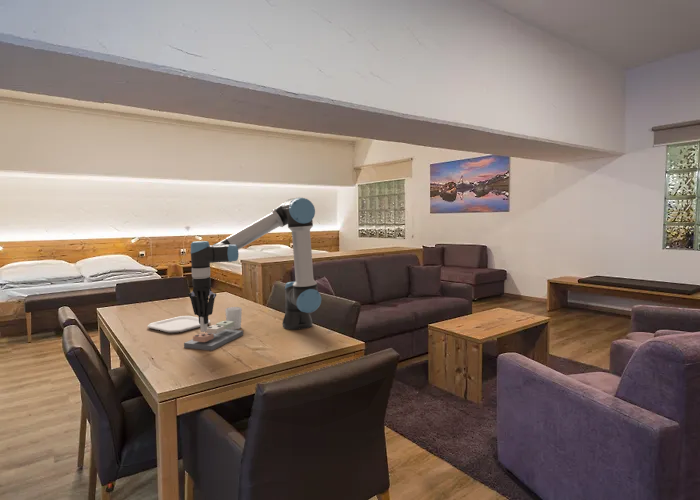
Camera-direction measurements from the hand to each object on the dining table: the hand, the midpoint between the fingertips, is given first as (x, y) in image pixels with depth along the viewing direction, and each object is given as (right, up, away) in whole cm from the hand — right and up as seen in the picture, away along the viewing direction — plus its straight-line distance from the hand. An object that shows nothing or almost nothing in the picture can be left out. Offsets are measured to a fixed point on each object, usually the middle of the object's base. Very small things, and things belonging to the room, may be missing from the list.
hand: (204, 330), depth 179 cm
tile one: (+5, -1, +15) cm, 16 cm away
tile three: (0, -4, 0) cm, 4 cm away
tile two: (+2, -2, +8) cm, 8 cm away
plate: (-24, -5, +33) cm, 41 cm away
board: (+2, -6, +8) cm, 10 cm away
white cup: (+5, -5, +29) cm, 30 cm away
